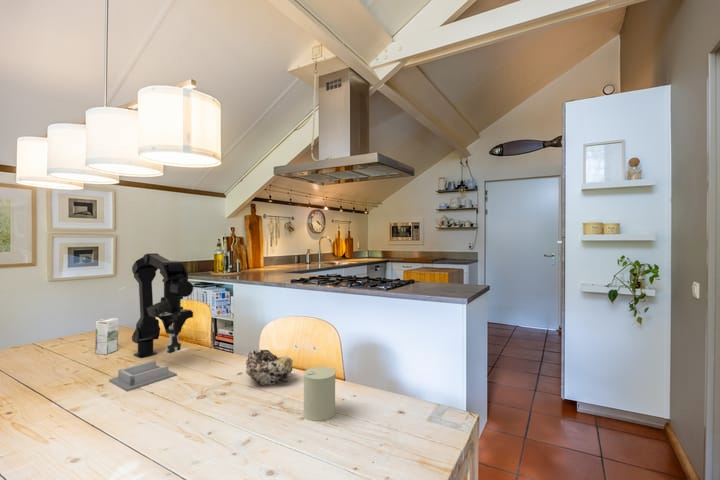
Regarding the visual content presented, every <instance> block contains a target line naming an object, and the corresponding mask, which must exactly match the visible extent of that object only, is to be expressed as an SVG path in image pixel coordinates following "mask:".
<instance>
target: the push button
mask: <svg viewBox="0 0 720 480" xmlns="http://www.w3.org/2000/svg"><path fill="white" fill-rule="evenodd" d="M182 329H183V327H182V328H181V330H180V332H179V334H180V333H181V332H182ZM166 330H167V333H168V345H166V349H164V350H163V351H164V354H172V353H176V352H178V351H181V349H182V347H181V346H182V344H181V343H179V335H178V336H175V335H174V329H173V324H172V325H170V326H169V327H168V328H166Z"/></svg>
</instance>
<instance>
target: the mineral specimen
mask: <svg viewBox="0 0 720 480" xmlns="http://www.w3.org/2000/svg"><path fill="white" fill-rule="evenodd" d="M293 361H294V360H293V359H292V358H291V357H289V356H280V357H278V356H277V355H276V354H273V353H272V352H271V351H270V350H269V349H261V348H259V349H252V350H250V352H248V356H247V359H246V360H245V366H246V370H245V374H246V375H247V376H248V377H250V378H251V380H254V381H257V382H259V383H260V384H261V385H263V386H264V385H274V384H279V383H282V382H283V381H285V379H288V378H290V377H291V376H292V371H293V363H294V362H293Z"/></svg>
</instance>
